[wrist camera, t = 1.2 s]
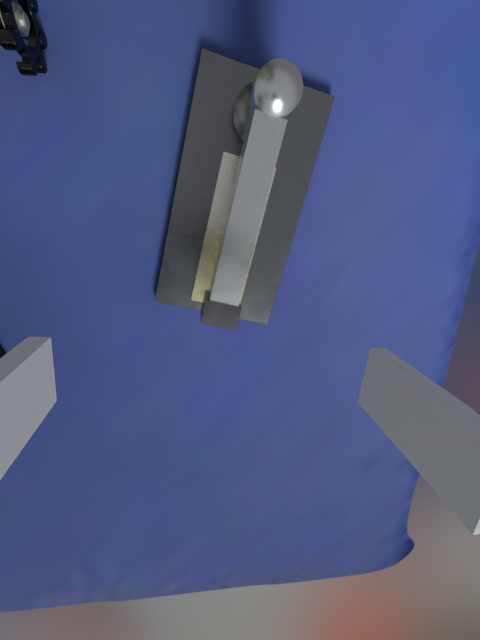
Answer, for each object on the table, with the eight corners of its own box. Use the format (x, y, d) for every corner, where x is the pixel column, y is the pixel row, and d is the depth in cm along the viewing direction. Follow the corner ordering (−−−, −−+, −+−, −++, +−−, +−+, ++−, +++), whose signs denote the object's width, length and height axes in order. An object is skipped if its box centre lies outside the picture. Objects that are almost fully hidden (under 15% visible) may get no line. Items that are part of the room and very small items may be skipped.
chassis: (156, 298, 34) (153, 303, 32) (201, 53, 28) (202, 40, 26) (265, 321, 36) (269, 328, 34) (330, 100, 30) (339, 91, 28)
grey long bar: (250, 85, 26) (263, 50, 21) (286, 98, 27) (309, 67, 21) (199, 305, 32) (199, 325, 26) (231, 311, 32) (237, 332, 27)
